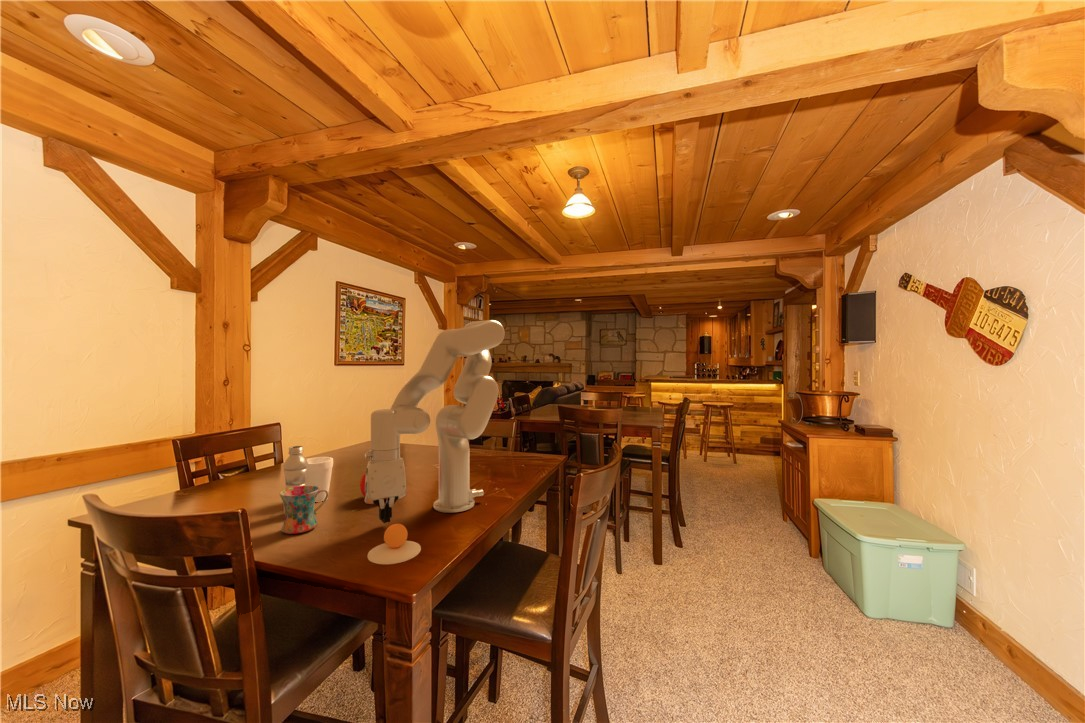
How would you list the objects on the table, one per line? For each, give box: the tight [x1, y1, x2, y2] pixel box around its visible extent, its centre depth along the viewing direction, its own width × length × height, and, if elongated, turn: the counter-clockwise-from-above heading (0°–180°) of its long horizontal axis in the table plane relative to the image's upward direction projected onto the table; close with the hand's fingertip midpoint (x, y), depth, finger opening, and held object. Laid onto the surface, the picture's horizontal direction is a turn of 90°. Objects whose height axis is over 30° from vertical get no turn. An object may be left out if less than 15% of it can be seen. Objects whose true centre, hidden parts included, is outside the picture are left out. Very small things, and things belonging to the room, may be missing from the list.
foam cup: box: [306, 456, 334, 503], centre depth 136 cm, size 10×9×13 cm
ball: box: [383, 523, 409, 548], centre depth 102 cm, size 6×6×6 cm
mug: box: [279, 485, 329, 535], centre depth 113 cm, size 12×9×11 cm
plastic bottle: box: [282, 445, 308, 514], centre depth 123 cm, size 6×7×20 cm
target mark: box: [367, 540, 422, 566], centre depth 99 cm, size 12×12×1 cm
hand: (385, 521), depth 114 cm, fingers closed
